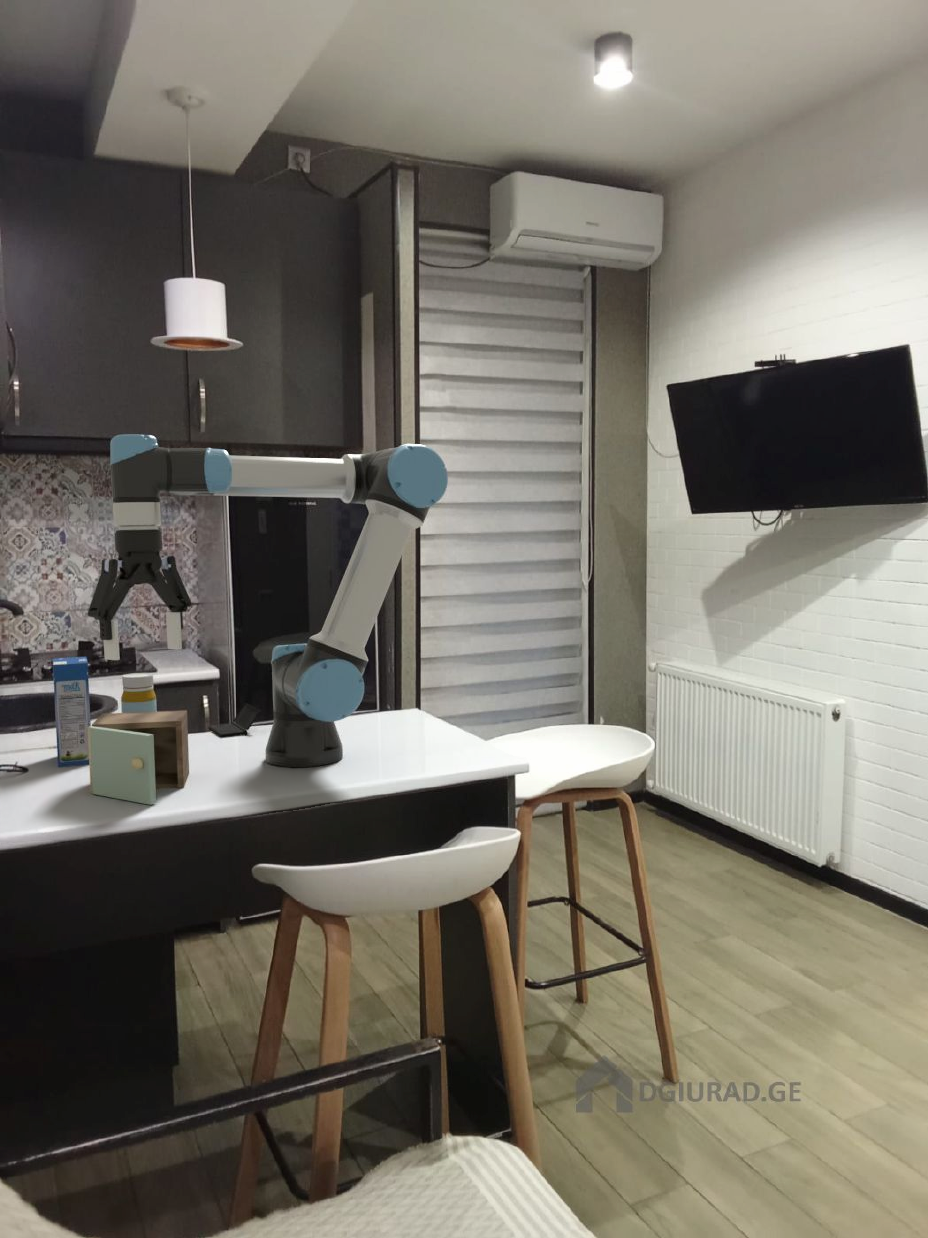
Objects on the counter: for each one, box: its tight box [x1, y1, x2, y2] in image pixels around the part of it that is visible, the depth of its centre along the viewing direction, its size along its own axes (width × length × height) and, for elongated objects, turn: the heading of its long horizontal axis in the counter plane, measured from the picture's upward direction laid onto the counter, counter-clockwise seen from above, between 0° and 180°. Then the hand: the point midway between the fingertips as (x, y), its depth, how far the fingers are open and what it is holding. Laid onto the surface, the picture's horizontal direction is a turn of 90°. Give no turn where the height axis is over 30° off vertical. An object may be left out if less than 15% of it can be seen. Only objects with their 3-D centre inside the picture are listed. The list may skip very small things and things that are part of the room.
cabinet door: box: [88, 725, 157, 806], centre depth 162 cm, size 15×2×12 cm, turn 61°
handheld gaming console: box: [207, 702, 261, 738], centre depth 217 cm, size 12×7×10 cm
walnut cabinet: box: [91, 709, 190, 789], centre depth 173 cm, size 15×10×12 cm, turn 101°
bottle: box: [120, 672, 158, 713], centre depth 203 cm, size 7×7×15 cm
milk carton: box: [52, 656, 92, 768], centre depth 190 cm, size 10×6×20 cm, turn 23°
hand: (144, 654), depth 162 cm, fingers open, 13 cm apart
